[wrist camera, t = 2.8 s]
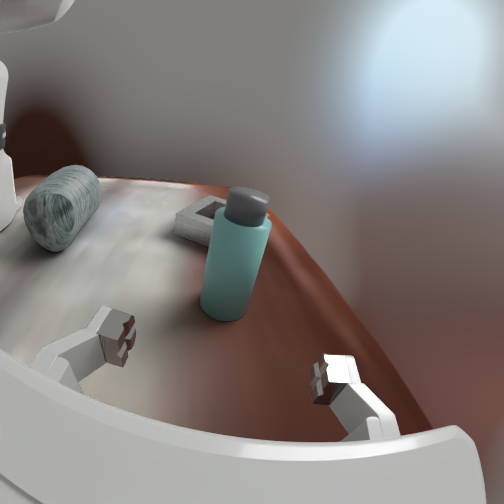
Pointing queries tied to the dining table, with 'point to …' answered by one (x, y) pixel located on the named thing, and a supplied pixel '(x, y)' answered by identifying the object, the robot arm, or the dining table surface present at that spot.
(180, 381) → the dining table surface
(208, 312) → the bottle
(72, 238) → the spool
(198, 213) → the housing
